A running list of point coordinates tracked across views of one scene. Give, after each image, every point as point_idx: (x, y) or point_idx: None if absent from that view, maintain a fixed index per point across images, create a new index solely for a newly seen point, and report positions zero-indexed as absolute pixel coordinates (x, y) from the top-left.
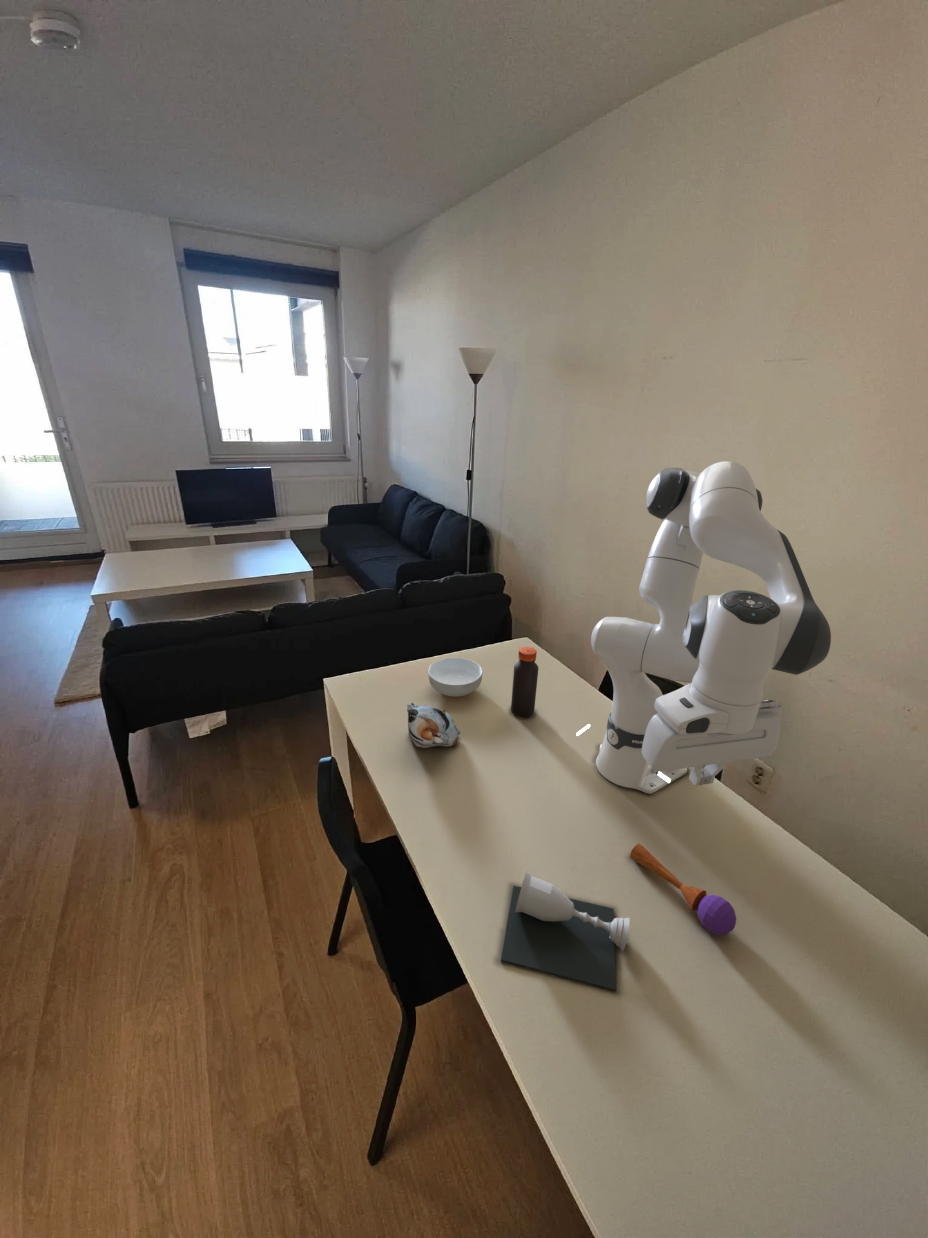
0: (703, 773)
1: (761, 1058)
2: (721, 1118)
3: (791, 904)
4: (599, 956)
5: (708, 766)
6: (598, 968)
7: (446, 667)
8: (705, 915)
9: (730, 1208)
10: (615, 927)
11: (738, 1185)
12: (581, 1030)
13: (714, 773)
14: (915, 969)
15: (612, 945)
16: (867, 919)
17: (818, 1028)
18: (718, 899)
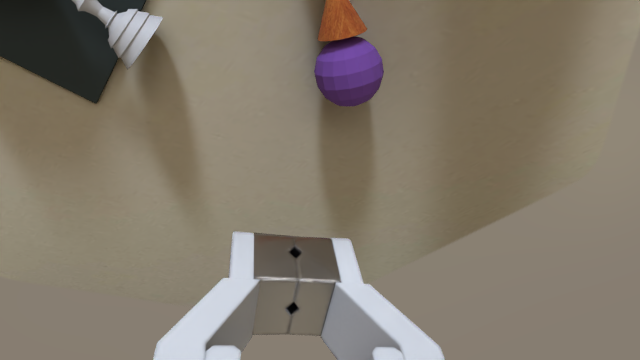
0: (289, 313)
1: (261, 217)
2: (169, 244)
3: (509, 74)
4: (86, 45)
5: (349, 319)
6: (76, 63)
7: None
8: (319, 76)
9: (133, 289)
10: (112, 40)
11: (152, 280)
12: (14, 132)
13: (336, 356)
14: (544, 195)
15: None
16: (580, 130)
17: (358, 211)
18: (358, 75)
